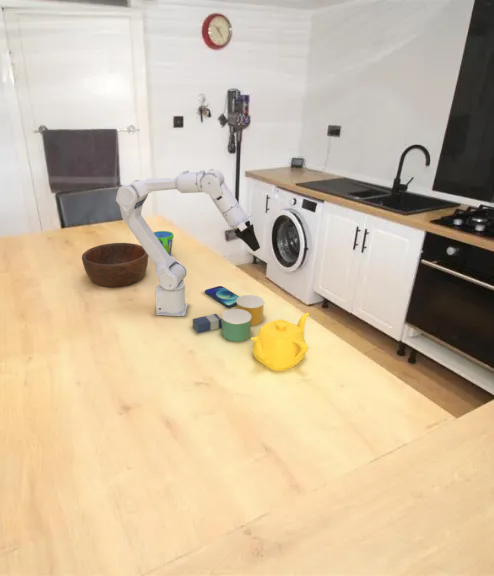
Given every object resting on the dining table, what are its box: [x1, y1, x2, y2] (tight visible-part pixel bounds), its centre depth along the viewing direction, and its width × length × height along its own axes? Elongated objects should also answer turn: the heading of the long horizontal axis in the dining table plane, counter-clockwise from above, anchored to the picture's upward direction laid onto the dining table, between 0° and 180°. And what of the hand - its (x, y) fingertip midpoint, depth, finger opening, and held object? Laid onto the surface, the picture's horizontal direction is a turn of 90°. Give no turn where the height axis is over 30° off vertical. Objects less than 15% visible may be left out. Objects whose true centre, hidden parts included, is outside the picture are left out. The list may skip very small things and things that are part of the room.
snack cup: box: [153, 230, 175, 256], centre depth 181 cm, size 16×10×10 cm
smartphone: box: [204, 285, 240, 308], centre depth 145 cm, size 8×1×15 cm
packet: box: [192, 313, 222, 334], centre depth 126 cm, size 8×4×3 cm, turn 114°
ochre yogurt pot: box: [236, 294, 265, 326], centre depth 130 cm, size 9×9×6 cm
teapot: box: [250, 312, 310, 372], centre depth 109 cm, size 22×16×11 cm
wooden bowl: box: [81, 242, 149, 288], centre depth 159 cm, size 25×25×10 cm
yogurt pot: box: [221, 308, 251, 343], centre depth 122 cm, size 9×9×6 cm
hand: (255, 247), depth 119 cm, fingers open, 7 cm apart
